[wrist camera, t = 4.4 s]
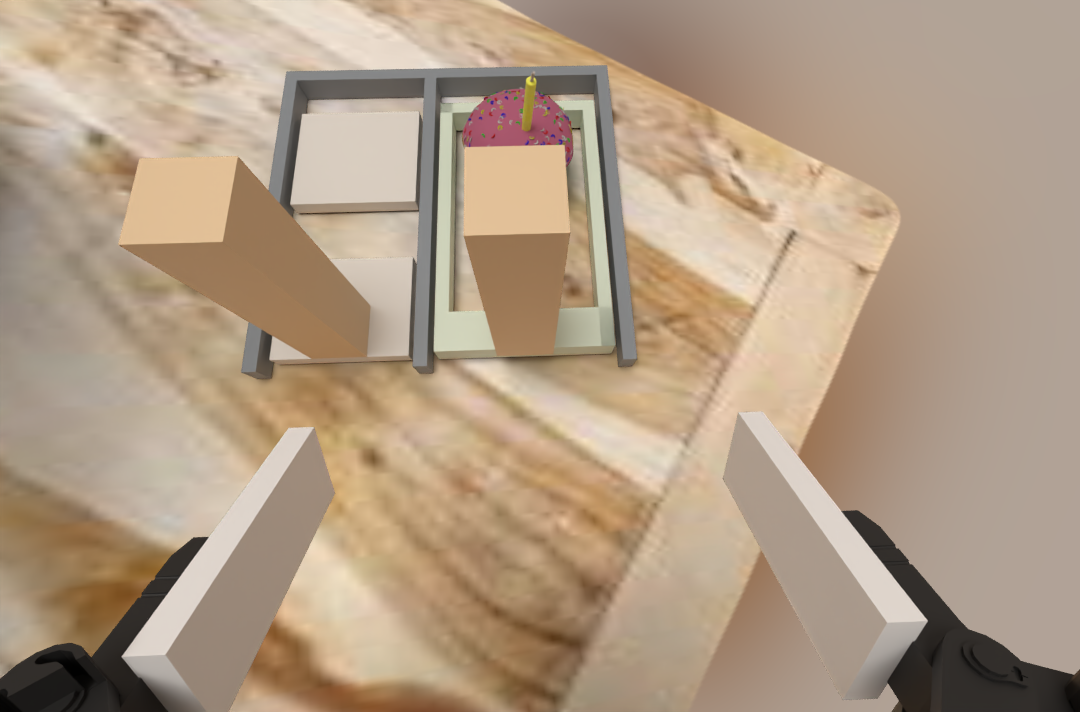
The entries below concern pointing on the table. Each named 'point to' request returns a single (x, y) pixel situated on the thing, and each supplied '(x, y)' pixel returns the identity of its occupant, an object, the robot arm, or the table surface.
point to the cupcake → (519, 121)
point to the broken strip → (290, 237)
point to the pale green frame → (519, 246)
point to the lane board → (432, 89)
